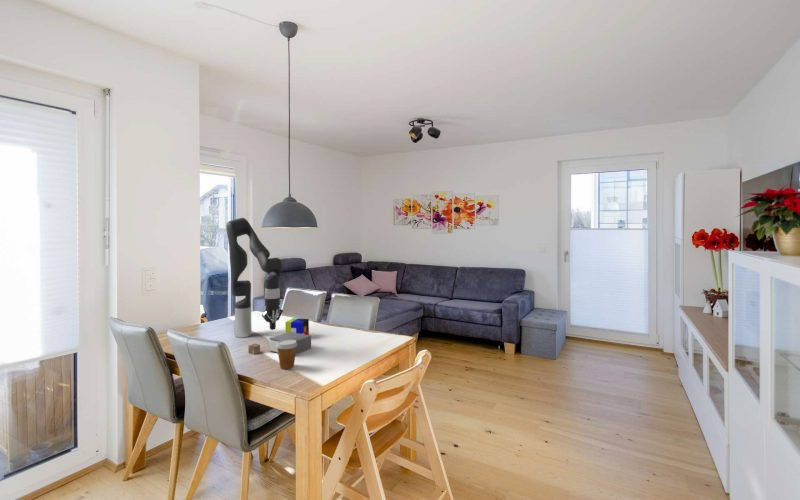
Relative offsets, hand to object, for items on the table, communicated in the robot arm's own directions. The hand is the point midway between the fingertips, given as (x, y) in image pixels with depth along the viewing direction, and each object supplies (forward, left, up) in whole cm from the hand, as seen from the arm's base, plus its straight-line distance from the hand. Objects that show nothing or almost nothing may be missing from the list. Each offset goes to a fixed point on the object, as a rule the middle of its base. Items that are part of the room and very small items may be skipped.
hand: (272, 329), depth 207 cm
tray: (+4, +7, -12) cm, 14 cm away
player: (+4, +8, -12) cm, 15 cm away
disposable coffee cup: (+21, -12, -13) cm, 28 cm away
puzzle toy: (-10, +28, -13) cm, 32 cm away
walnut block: (-9, -5, -12) cm, 16 cm away
